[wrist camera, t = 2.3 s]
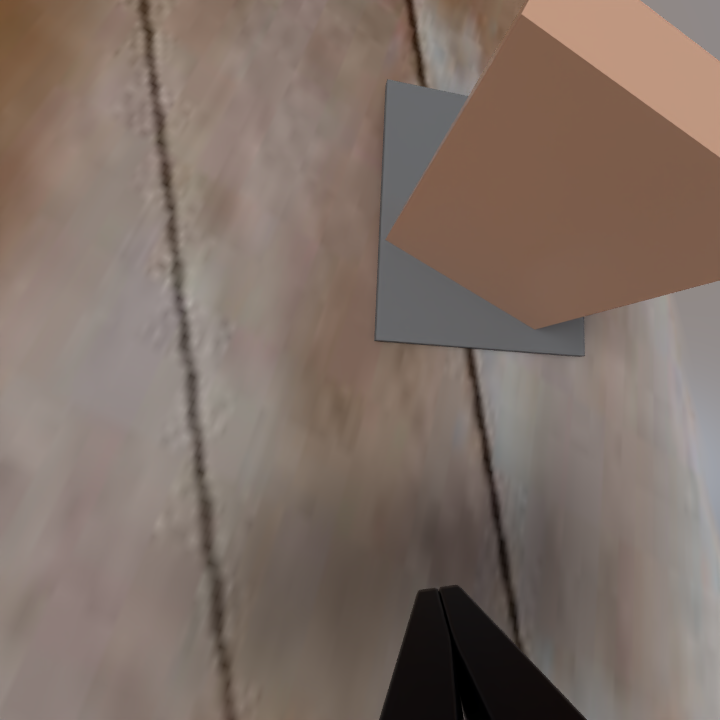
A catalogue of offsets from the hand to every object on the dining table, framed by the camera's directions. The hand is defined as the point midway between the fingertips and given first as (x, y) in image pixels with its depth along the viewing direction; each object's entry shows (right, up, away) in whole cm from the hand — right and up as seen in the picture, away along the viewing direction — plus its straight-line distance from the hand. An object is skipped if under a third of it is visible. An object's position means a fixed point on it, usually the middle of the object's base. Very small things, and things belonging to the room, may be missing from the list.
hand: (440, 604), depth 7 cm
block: (+5, +10, +13) cm, 17 cm away
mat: (+6, +13, +14) cm, 20 cm away
